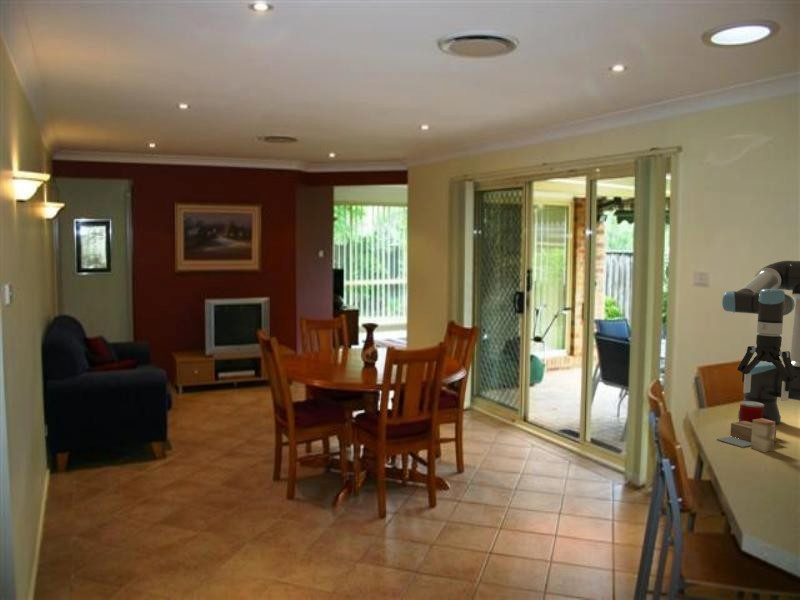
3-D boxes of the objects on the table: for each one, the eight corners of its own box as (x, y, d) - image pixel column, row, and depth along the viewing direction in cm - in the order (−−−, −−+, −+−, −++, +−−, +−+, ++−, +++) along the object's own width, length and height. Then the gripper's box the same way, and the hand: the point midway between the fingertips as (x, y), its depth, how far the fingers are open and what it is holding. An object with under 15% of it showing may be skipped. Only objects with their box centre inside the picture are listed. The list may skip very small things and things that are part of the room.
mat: (731, 437, 245) (731, 436, 245) (756, 444, 237) (756, 443, 237) (716, 440, 242) (716, 439, 242) (742, 447, 233) (742, 446, 233)
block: (759, 446, 235) (761, 418, 234) (773, 450, 231) (775, 421, 230) (750, 448, 233) (752, 419, 232) (764, 452, 228) (766, 423, 228)
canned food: (765, 435, 249) (767, 406, 248) (741, 433, 251) (743, 404, 250) (758, 430, 257) (760, 401, 256) (736, 428, 258) (737, 400, 257)
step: (744, 434, 251) (745, 420, 250) (775, 442, 240) (776, 428, 240) (730, 436, 247) (731, 423, 246) (761, 445, 236) (762, 431, 236)
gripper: (728, 330, 238) (725, 389, 239) (798, 339, 216) (794, 405, 217) (742, 329, 241) (738, 388, 243) (812, 338, 219) (808, 403, 221)
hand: (765, 396), depth 230 cm, fingers open, 13 cm apart
